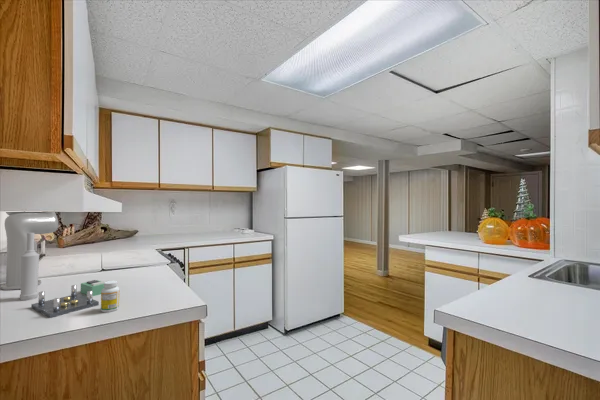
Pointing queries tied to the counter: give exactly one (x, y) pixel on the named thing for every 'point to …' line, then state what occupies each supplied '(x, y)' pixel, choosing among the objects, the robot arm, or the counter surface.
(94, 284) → the green rectangular module
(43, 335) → the counter surface
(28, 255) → the bottle
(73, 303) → the chassis
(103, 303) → the supplement bottle
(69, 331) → the counter surface
